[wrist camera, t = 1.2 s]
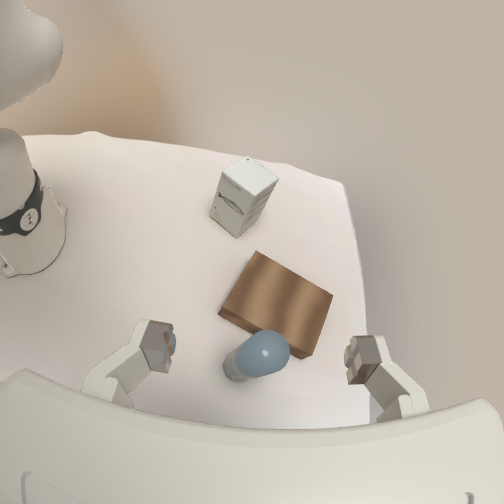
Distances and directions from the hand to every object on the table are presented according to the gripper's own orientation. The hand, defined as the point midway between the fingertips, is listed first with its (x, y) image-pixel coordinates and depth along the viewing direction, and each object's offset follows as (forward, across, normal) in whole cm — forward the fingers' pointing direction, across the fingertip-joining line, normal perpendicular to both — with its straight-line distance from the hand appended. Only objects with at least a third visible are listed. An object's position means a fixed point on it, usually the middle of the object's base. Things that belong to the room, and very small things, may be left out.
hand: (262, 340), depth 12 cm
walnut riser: (+26, -4, +24) cm, 36 cm away
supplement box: (+41, +5, +16) cm, 45 cm away
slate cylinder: (+15, +2, +28) cm, 32 cm away
